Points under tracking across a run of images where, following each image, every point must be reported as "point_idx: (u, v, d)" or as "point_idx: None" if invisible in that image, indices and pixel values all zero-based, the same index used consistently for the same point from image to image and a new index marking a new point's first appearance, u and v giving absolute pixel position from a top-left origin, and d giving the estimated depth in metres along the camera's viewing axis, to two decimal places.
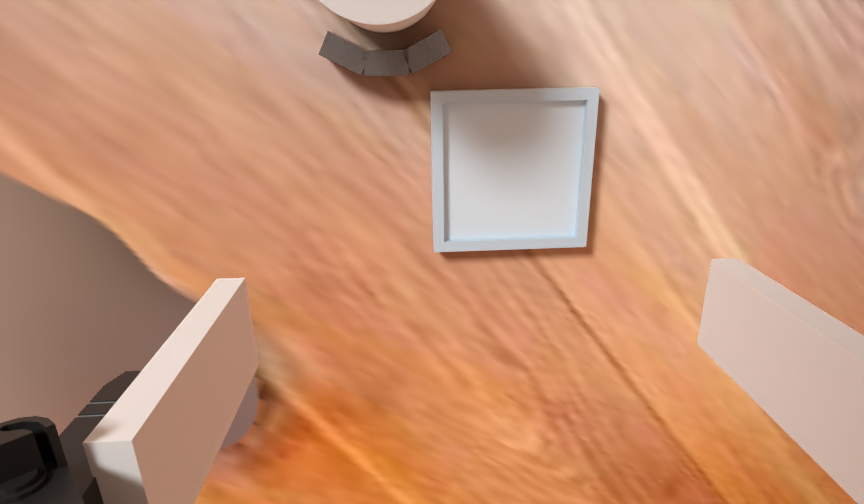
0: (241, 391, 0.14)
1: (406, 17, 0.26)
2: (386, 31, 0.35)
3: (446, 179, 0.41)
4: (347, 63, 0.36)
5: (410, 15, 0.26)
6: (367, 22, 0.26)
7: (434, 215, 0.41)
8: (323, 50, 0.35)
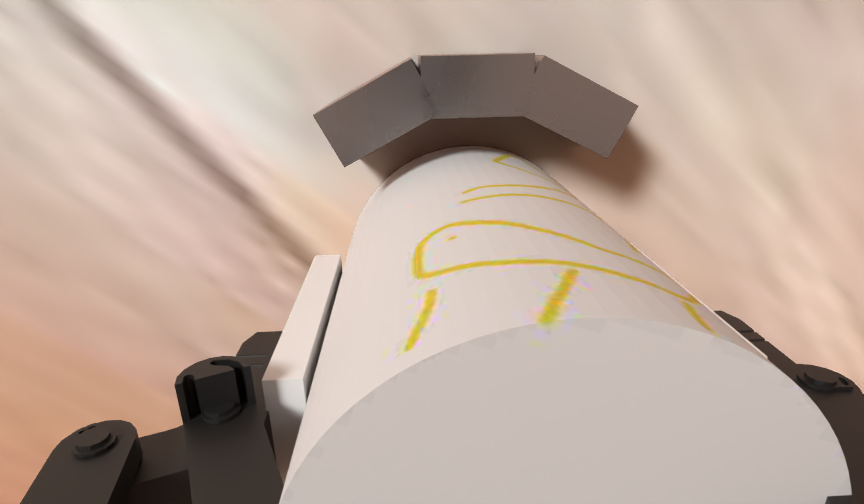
0: None
1: None
2: None
3: None
4: None
5: None
6: None
7: None
8: None
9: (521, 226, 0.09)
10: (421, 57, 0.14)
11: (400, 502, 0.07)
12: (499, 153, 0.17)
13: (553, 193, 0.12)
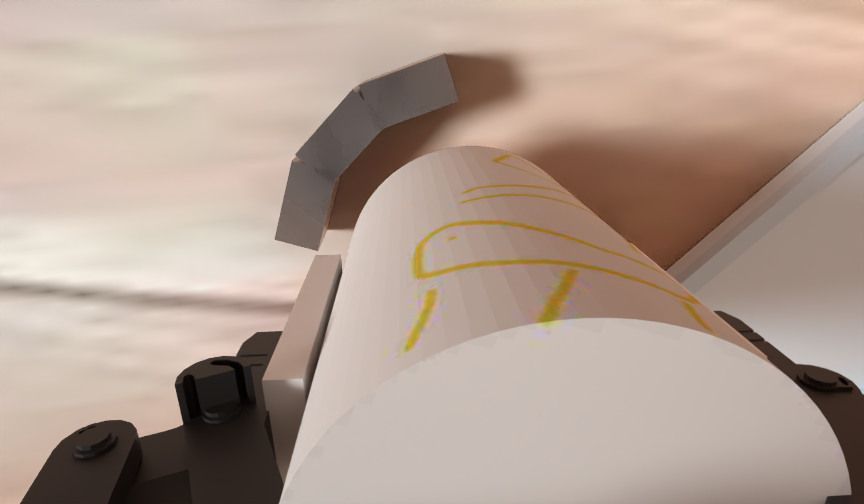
0: None
1: None
2: None
3: None
4: None
5: None
6: None
7: None
8: None
9: (521, 226, 0.09)
10: (296, 154, 0.19)
11: (400, 502, 0.07)
12: (499, 153, 0.17)
13: (553, 193, 0.12)
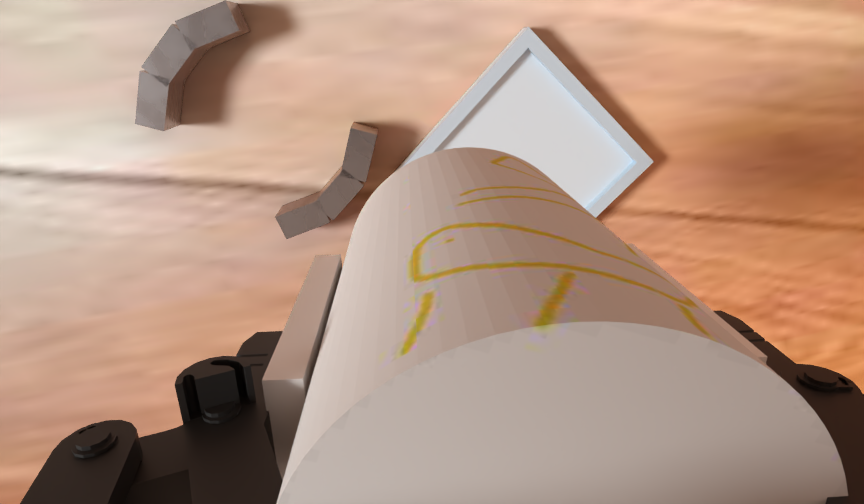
0: None
1: None
2: None
3: None
4: (311, 224, 0.34)
5: None
6: None
7: None
8: (286, 233, 0.34)
9: (518, 229, 0.09)
10: (142, 67, 0.30)
11: None
12: (497, 154, 0.17)
13: (551, 195, 0.12)
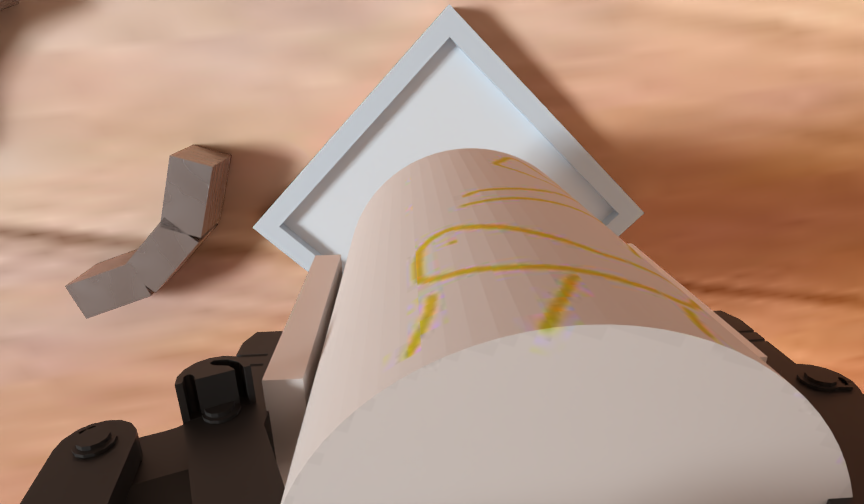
0: None
1: None
2: None
3: None
4: (123, 298, 0.23)
5: None
6: None
7: None
8: (85, 310, 0.23)
9: (521, 230, 0.09)
10: None
11: None
12: (499, 155, 0.16)
13: (553, 196, 0.12)
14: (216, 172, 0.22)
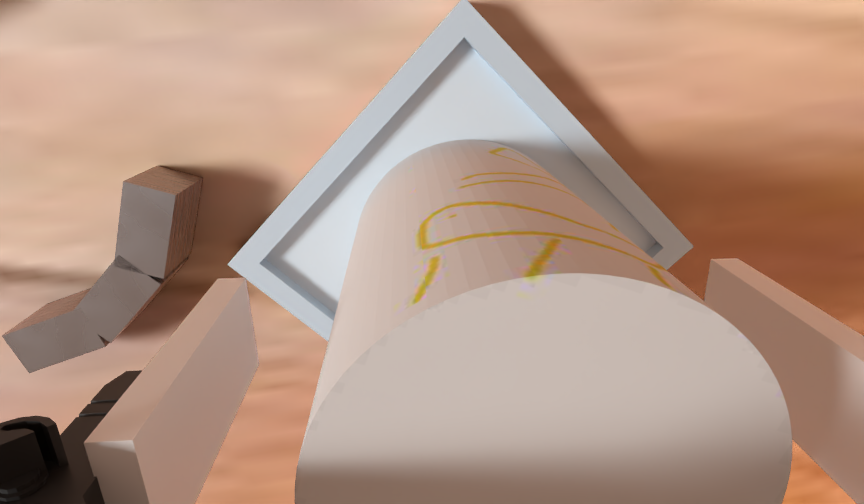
0: (242, 391, 0.14)
1: None
2: None
3: None
4: (72, 349, 0.19)
5: None
6: None
7: None
8: (27, 363, 0.19)
9: (513, 205, 0.11)
10: None
11: (408, 433, 0.08)
12: (495, 146, 0.18)
13: (544, 180, 0.14)
14: (182, 200, 0.18)
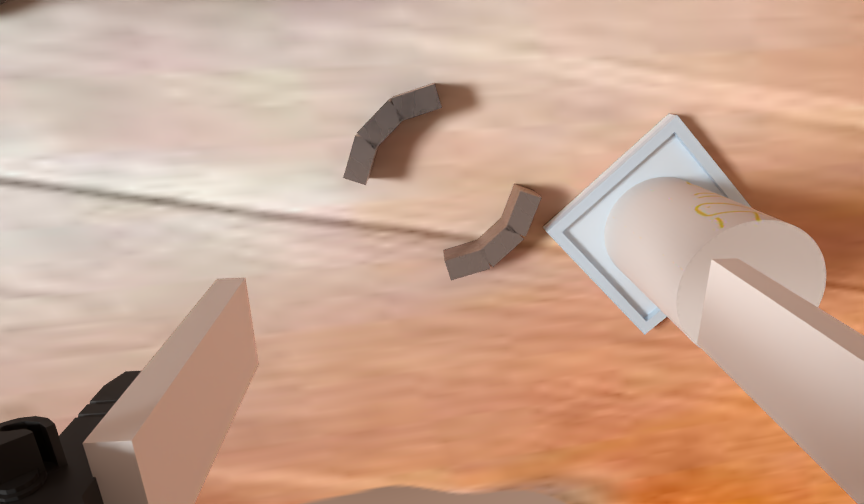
0: (241, 391, 0.14)
1: None
2: None
3: (608, 276, 0.42)
4: (474, 269, 0.40)
5: None
6: None
7: (622, 309, 0.42)
8: (452, 275, 0.40)
9: (730, 204, 0.31)
10: (357, 132, 0.36)
11: None
12: (684, 180, 0.39)
13: None
14: None
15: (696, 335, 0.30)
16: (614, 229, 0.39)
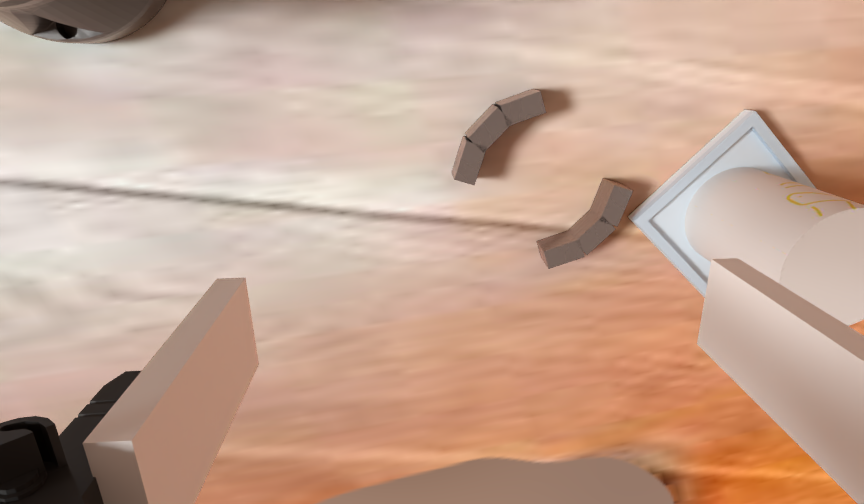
0: (241, 391, 0.14)
1: (849, 324, 0.35)
2: None
3: (687, 259, 0.46)
4: (570, 258, 0.43)
5: (853, 323, 0.35)
6: None
7: (699, 289, 0.46)
8: (549, 264, 0.43)
9: (819, 193, 0.35)
10: (468, 137, 0.40)
11: (815, 249, 0.33)
12: (760, 170, 0.42)
13: None
14: None
15: None
16: (697, 216, 0.43)
